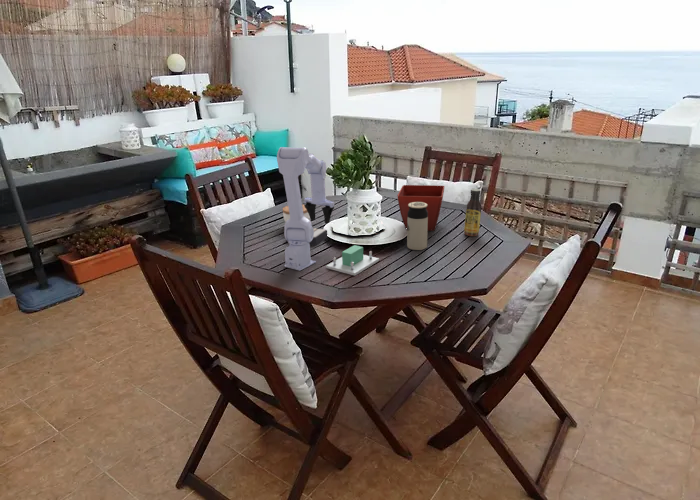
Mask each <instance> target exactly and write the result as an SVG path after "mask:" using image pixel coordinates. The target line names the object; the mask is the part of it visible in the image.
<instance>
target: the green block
mask: <svg viewBox="0 0 700 500" xmlns="http://www.w3.org/2000/svg"><path fill="white" fill-rule="evenodd" d="M363 255H364V247H363V246H360V245H355V244H354V245H352V246H350V247H349V248H346V249H345V250H343V251H341V257H342V264H343V265H347V266H351V262H354V265H355V264H357V263H358V262H360V261H362V260H363Z"/></svg>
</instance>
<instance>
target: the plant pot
mask: <svg viewBox="0 0 700 500" xmlns="http://www.w3.org/2000/svg"><path fill="white" fill-rule="evenodd" d="M444 192H445V185H437V184H436V185H430V184H427V185H425V184H423V185H422V184H420V185H419V184H418V185H417V184H404V185H403V184H402V186H401V188H400V190H399V191H398V194H397V204H398V208H399V211H400V216H401V220H402V223H403V226H404V229H406V228H407V218H408V211H409V206H408V204H409V203H412V202H424V203H426V204H427V208H426V210H427V212H428V228H427V232H428V231H429V232H434V231H435V230H436V227H437V224H438V220H439V216H440V211H441V207H442V204H443V200H444V199H443V198H444Z"/></svg>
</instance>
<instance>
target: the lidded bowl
mask: <svg viewBox="0 0 700 500" xmlns="http://www.w3.org/2000/svg"><path fill="white" fill-rule="evenodd" d="M304 205H305V204H303V203H302V207H303V214H304V217H306V218H307V219H308V220H311V219H310V216H309V213H308V211H307V210H306V208H305V207H304ZM282 213H283V214H282V215H283V219H284V222H285V223H286V221H287V220H288V219H290V213H289V207H288V205H286V206H284V207H282Z"/></svg>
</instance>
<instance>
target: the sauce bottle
mask: <svg viewBox="0 0 700 500" xmlns="http://www.w3.org/2000/svg"><path fill="white" fill-rule="evenodd" d="M481 192H482V190H481V189H480V188H471V189H470V197H469V198H470V199H469V201H468V202H467V204H466V210H465V219H464V227H463V234H464V235H465V236H467V237H477V236H478V235H479V232H480V226H481V219H482V218H481V217H482V203H481V202H480V201H481V200H480V197H481Z"/></svg>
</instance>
